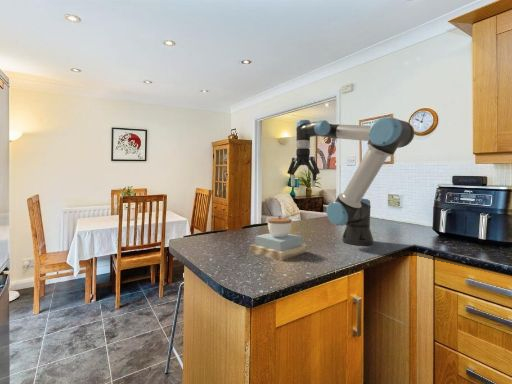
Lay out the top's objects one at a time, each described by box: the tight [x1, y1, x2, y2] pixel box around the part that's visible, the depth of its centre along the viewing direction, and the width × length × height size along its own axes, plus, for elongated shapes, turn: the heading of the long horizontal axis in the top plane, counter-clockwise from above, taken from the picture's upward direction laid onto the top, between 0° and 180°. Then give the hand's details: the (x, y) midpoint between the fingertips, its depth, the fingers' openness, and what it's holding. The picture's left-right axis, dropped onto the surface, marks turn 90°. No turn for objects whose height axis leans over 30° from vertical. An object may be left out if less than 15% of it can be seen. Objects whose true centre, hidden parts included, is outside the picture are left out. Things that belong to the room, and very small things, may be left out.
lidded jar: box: [267, 215, 292, 238], centre depth 123 cm, size 11×11×9 cm
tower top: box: [254, 232, 303, 251], centre depth 124 cm, size 15×15×4 cm
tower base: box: [249, 243, 307, 261], centre depth 124 cm, size 18×18×4 cm
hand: (302, 186), depth 155 cm, fingers open, 13 cm apart
